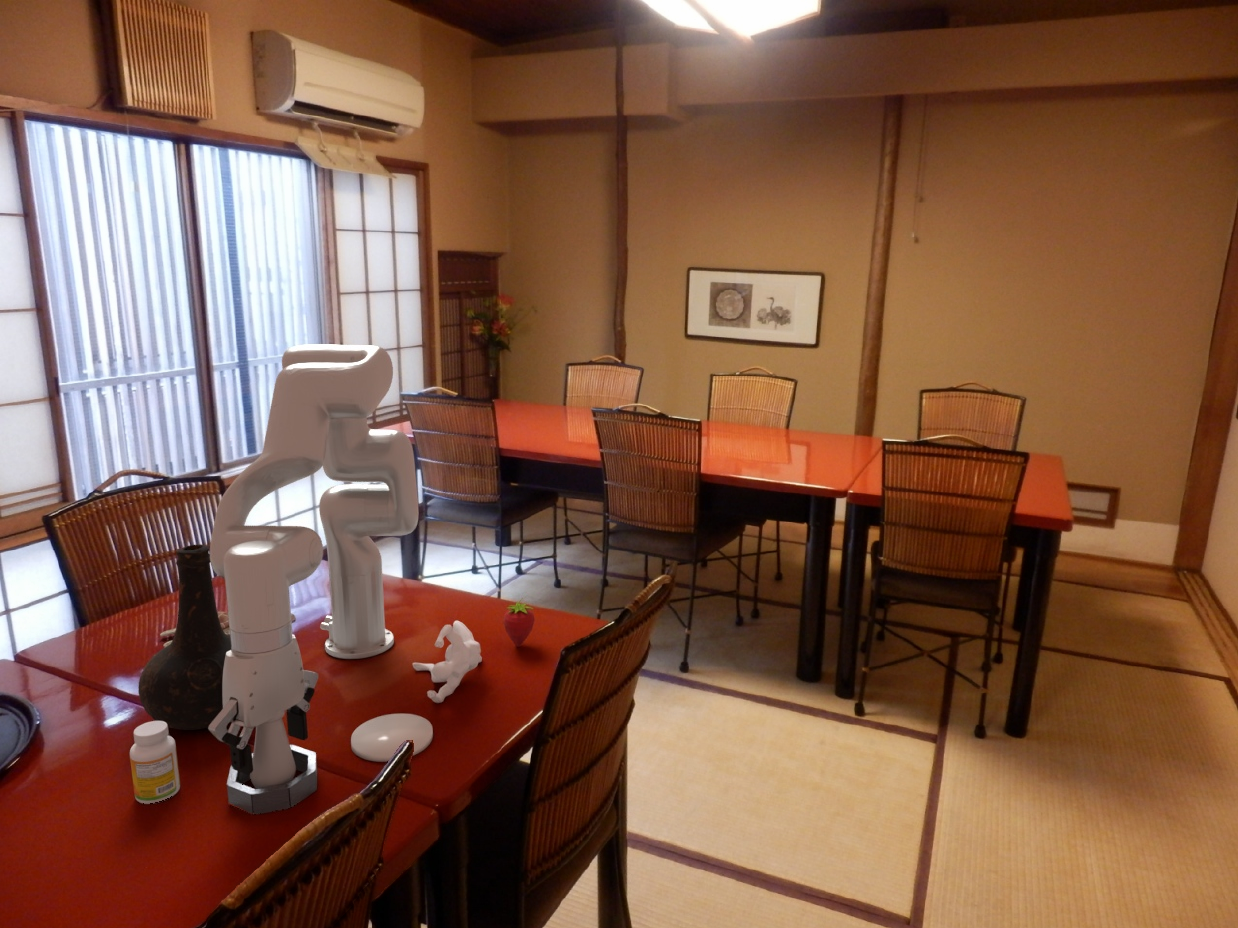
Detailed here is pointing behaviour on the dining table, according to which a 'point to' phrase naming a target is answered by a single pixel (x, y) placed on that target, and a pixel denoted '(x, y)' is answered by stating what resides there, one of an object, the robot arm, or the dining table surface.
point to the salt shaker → (272, 755)
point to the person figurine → (453, 659)
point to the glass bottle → (189, 653)
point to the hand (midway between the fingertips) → (271, 753)
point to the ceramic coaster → (390, 736)
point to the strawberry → (518, 622)
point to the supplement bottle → (154, 763)
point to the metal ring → (275, 795)
